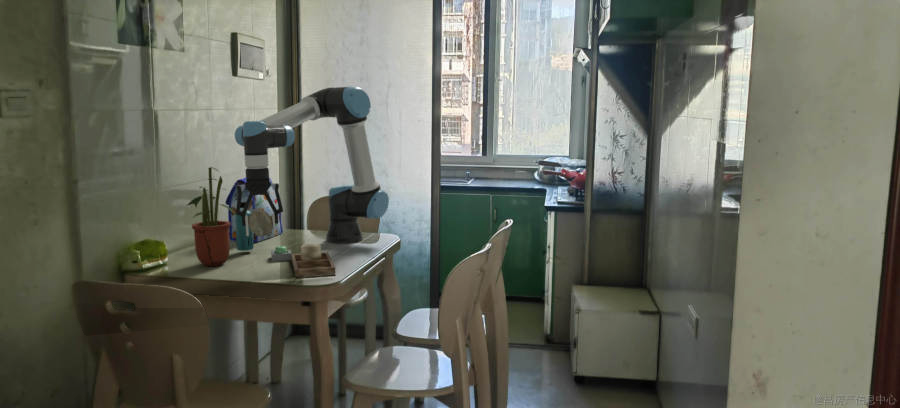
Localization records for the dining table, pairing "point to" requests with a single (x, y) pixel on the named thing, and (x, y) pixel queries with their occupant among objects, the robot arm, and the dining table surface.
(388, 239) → the dining table surface
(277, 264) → the dining table surface
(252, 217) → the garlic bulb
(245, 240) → the beverage bottle
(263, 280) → the dining table surface
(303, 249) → the block
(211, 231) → the potted plant
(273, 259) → the button box
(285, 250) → the button
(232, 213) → the lunch bag
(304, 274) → the brown wooden tray
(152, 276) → the dining table surface
